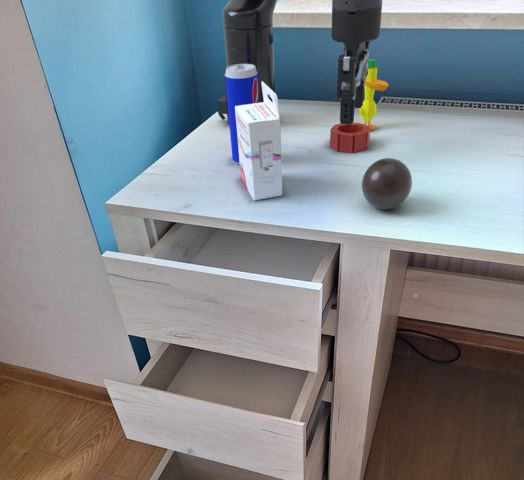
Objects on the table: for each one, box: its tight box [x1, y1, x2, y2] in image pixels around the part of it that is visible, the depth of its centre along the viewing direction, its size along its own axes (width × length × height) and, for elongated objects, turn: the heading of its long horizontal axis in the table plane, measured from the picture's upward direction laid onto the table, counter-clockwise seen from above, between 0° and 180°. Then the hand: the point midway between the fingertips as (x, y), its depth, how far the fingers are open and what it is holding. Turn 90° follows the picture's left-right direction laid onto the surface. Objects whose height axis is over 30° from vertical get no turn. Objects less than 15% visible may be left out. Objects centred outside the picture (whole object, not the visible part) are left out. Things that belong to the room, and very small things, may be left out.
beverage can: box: [225, 64, 259, 166], centre depth 87 cm, size 5×5×15 cm
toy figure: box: [358, 58, 389, 132], centre depth 97 cm, size 7×4×12 cm, turn 37°
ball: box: [361, 157, 413, 210], centre depth 74 cm, size 7×7×7 cm
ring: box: [329, 121, 371, 154], centre depth 94 cm, size 7×7×3 cm
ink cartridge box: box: [235, 81, 283, 201], centre depth 78 cm, size 9×5×15 cm, turn 17°
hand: (351, 115), depth 89 cm, fingers open, 8 cm apart
